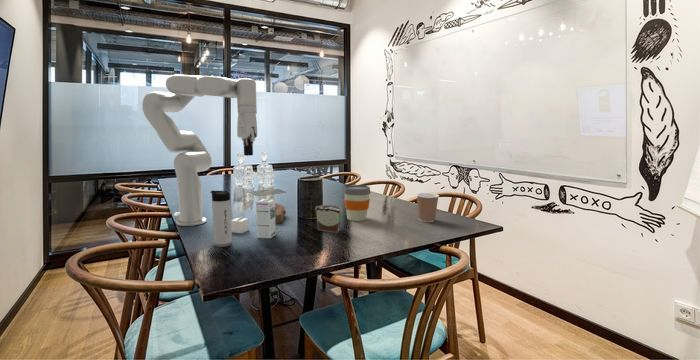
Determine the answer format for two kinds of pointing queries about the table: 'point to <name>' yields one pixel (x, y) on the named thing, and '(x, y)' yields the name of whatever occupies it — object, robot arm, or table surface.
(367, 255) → the table surface
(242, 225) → the white block
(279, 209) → the wooden toy blocks
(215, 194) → the travel mug
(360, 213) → the reusable coffee cup
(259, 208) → the syrup box
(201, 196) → the robot arm
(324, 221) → the food container
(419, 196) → the coffee cup
